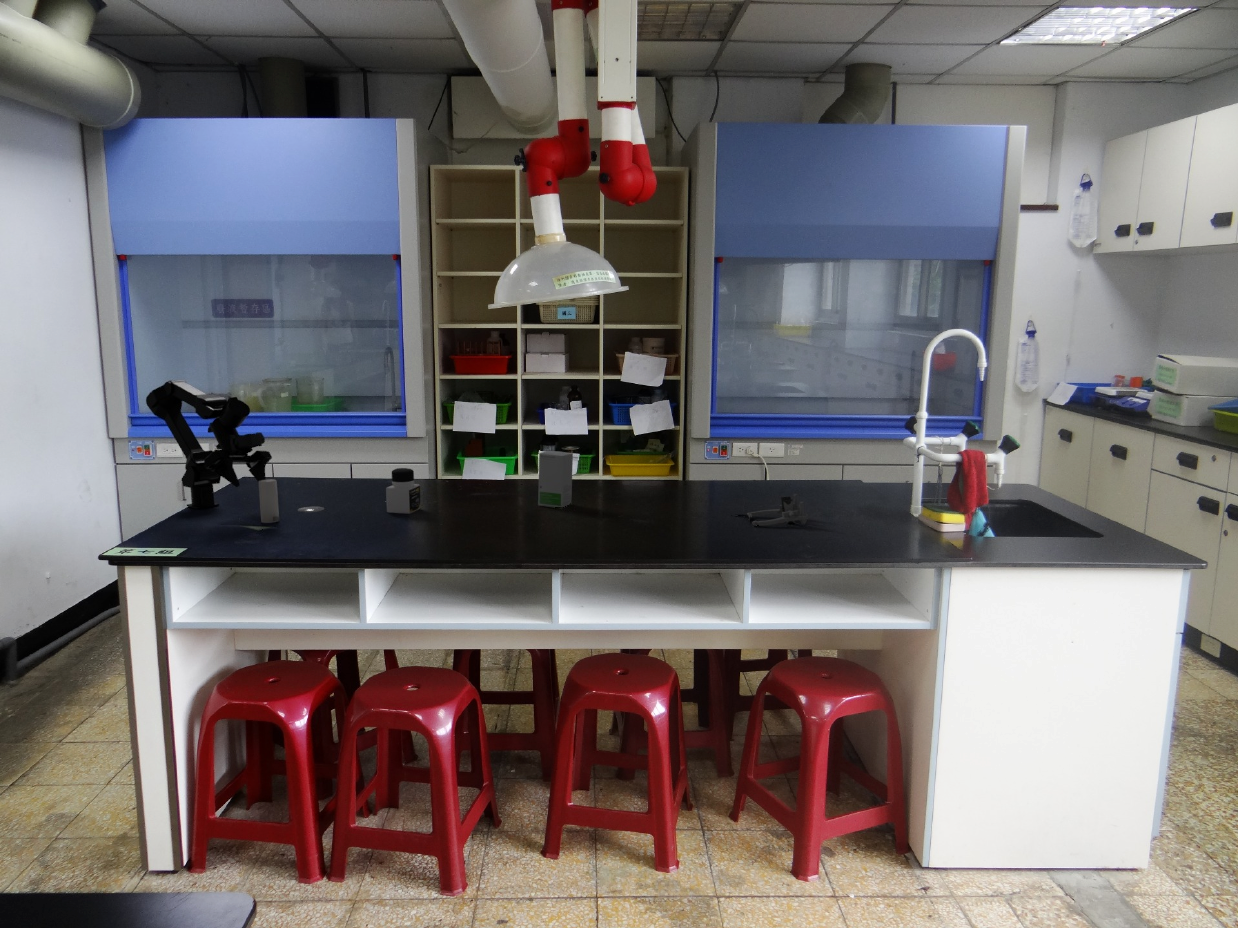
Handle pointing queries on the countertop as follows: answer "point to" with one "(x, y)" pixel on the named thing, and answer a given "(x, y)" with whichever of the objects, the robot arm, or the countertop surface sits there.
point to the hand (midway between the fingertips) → (251, 485)
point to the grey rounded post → (268, 501)
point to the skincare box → (555, 478)
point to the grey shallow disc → (310, 509)
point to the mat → (256, 527)
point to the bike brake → (786, 509)
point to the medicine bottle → (403, 492)
